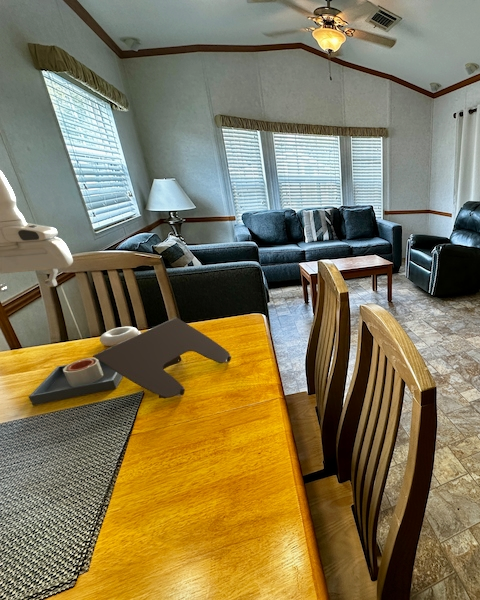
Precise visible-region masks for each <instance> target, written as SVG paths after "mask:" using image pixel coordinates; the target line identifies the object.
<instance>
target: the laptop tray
mask: <svg viewBox="0 0 480 600" xmlns="http://www.w3.org/2000/svg"><path fill="white" fill-rule="evenodd" d="M189 352H194V353H197V354H199V355H200V356H202V357H204V358H207V359H209V360H211V361H213V362H215V363H218V364H227V365H228V364H230V363H231V360H232V355H231V354H230V352H229V351H228V350H227V349H225V348H224V347H223V346H222V345H220V344H219V343H217V342H216V341H215V340H213V339H212V338H210V337H208V336H207V335H206V334H204V333H203V332H201V331H200V330H198V329H196V328H195V327H193V326H191V325H190V324H188V323H186V322H184V321H183V320H181V319H180V318H178V317H174V318H171V319H169V320H167V321H165V322H163V323H161V324H158V325H156V326H154V327H152V328H150V329H148V330H145V331H143V332H141V333H139V334H138V335H137V336H135V337H132V338H130V339H128V340H126V341H124V342H121V343H119V344H117V345H115V346H110V347H109V348H107V349H104V350H102V351H100V352H98V353H95V354H93V355H92V358H96V359H98V360H99V361H101V362H102V363H104V364H105V365H107V366H108V367H110V368H111V369H113V370H114V371H116V372H117V373H119V374H121V375H122V376H123V378H126V379H127V380H129V381H130V382H132V383H134V384H136V385H138V386H139V387H141V388H143V389H145V390H147V391H149V392H151V393H152V394H155V395H157V396H158V399H170V398H174V397H178V398H182V397H184V395H185V391H186V388H185V387H184V386H183V385H182V384H181V383H180V382H179V381H178V380H177V379H176V378H175V377H173V375H171V374H170V373H169V372H167V371H166V370H165V369H167V368H169V367H172V366H175V365H178V364H180V363H181V362H182V357H181V356H182V355H184V354H186V353H189Z"/></svg>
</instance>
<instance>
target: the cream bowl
mask: <svg viewBox="0 0 480 600" xmlns="http://www.w3.org/2000/svg"><path fill="white" fill-rule="evenodd" d="M83 360H93V361H94V363H95V364H93V365H91V366H90V367H87V368H85V369H82V370H78V371H70V372H69V370H68V368H69V366H71V365H72V364H74V363H77V362H79V361H83ZM66 365H67V366H66V367H65V368H64V369H63V372H64V374H65V376H66V378H67V380H68V383H69V384H70V386H72V387H76V386H81V385H86V384H91V383H94V382H96V381H97V380H99V379H101V378H102V377H103V375H104V373H103V371H102V368H101V366H100V363H99V361H98V359H96V358H95V357H88V358H82V359H77V360H76V361H73V362H71V363H69V365H68V364H66Z"/></svg>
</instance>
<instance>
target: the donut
mask: <svg viewBox="0 0 480 600" xmlns="http://www.w3.org/2000/svg"><path fill="white" fill-rule="evenodd" d="M139 334H140V331H139V329H137V328H136V327H133V326H121V327H115V328H112V329H109V330H107V331H106V332H104V333H102V334H101V335H100V337H99V341H100V343H101V344H102V345H103V346H106V347H113V346H115V345H117V344H119V343H121V342H124V341H126V340H128V339H130V338H132V337H135V336H137V335H139Z"/></svg>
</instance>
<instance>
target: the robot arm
mask: <svg viewBox="0 0 480 600" xmlns="http://www.w3.org/2000/svg"><path fill="white" fill-rule="evenodd" d="M58 233H59V232H58V230H57V228H55V227H53V226H47V225H42V224H37V223H30V222H27V221H26V219H25V217H24V215H23V214H22V212H20V210H19V209H18V205H17V198H16V196H15V193H14V191H13V189H12V187H11V185H10V184H9V182H8V180H7V178H6V177H5V174H4V173H3V172H2V170H0V275H2V274H13V273H25V272H35V271H45V273H46V275H49V276H48V278H47V279H46V280H45V279H44V281H43V282H44V284H45V287H47V288H53V287H56V286H58V282H57V279H56V278H57V275H58V273H59V269H66V268H69V267H71V266H72V265H73V263H74V258H73V255H72V254H71V252H70V250H69V247H68V246H67V244H66V243H65V241H64V240H63V239H62V238H60V237H58V235H59V234H58ZM6 291H8V287H7V285H6V283H5V282H3V283H2V282H1V283H0V293H5V292H6Z"/></svg>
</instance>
